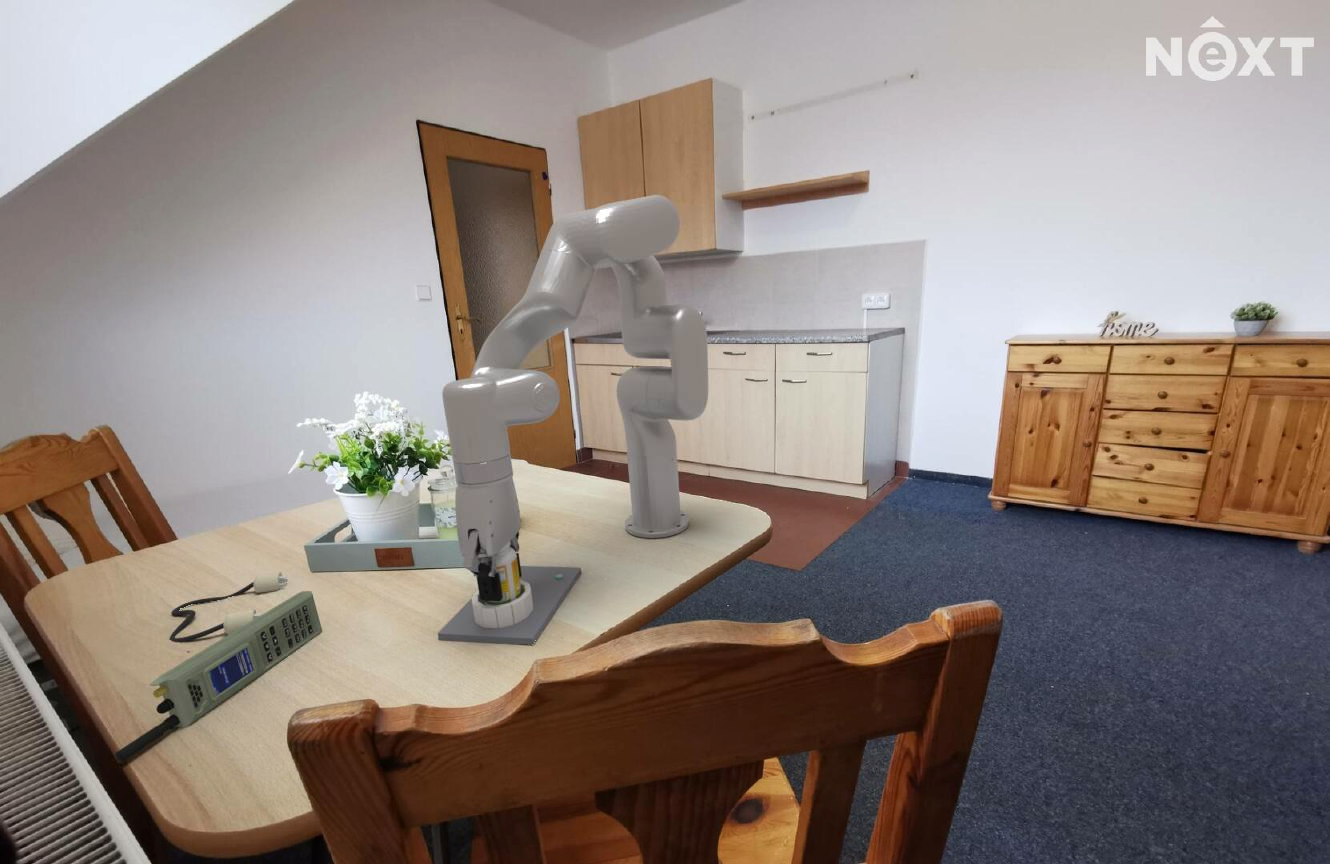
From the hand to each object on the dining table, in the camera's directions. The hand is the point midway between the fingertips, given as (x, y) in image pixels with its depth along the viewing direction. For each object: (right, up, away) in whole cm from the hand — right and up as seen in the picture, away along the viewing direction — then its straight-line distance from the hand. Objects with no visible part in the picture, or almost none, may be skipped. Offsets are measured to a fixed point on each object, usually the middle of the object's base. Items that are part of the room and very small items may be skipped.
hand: (501, 587), depth 82 cm
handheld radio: (-30, -10, -10) cm, 34 cm away
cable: (-46, -7, +7) cm, 47 cm away
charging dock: (+1, -4, +5) cm, 6 cm away
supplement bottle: (0, -2, 0) cm, 2 cm away
